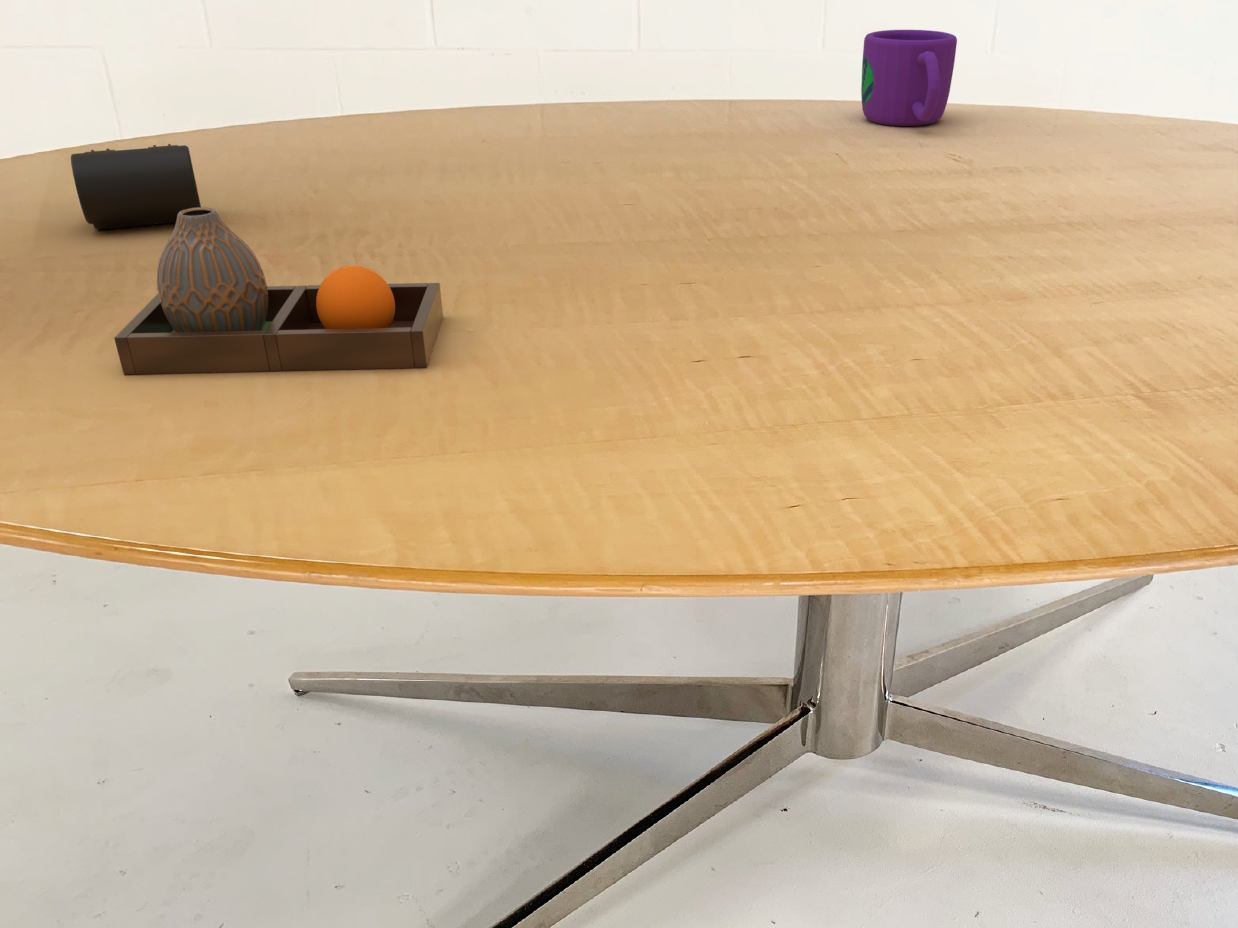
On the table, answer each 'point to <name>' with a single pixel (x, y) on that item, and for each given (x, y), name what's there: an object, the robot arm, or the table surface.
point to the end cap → (134, 185)
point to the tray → (286, 338)
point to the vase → (210, 277)
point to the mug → (907, 76)
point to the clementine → (355, 300)
